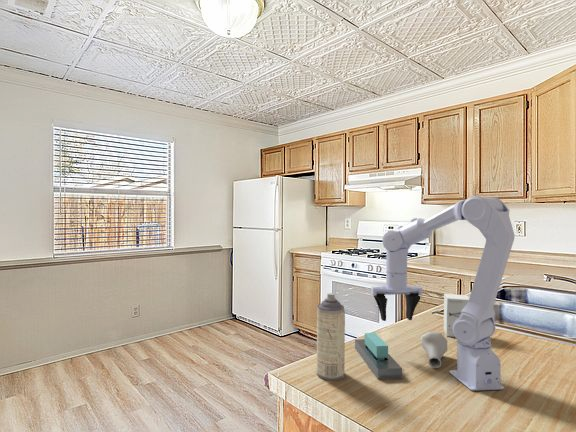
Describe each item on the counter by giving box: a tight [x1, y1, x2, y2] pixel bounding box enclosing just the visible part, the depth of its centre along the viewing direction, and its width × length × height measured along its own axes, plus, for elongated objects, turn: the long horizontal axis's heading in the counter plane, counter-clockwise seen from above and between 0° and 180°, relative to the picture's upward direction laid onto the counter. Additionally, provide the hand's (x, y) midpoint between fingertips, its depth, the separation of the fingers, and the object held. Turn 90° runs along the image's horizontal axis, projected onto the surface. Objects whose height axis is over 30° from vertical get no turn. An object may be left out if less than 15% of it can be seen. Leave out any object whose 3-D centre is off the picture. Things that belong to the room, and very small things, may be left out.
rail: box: [354, 338, 403, 380], centre depth 97 cm, size 20×6×2 cm, turn 5°
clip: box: [364, 332, 389, 360], centre depth 97 cm, size 10×3×6 cm, turn 5°
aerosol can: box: [316, 292, 346, 381], centre depth 89 cm, size 7×7×20 cm
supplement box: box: [443, 293, 470, 338], centre depth 119 cm, size 7×7×13 cm
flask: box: [420, 331, 448, 369], centre depth 97 cm, size 7×7×10 cm
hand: (396, 319), depth 103 cm, fingers open, 7 cm apart
